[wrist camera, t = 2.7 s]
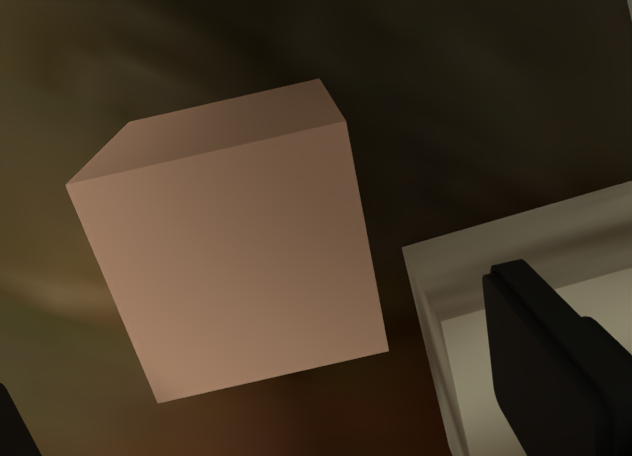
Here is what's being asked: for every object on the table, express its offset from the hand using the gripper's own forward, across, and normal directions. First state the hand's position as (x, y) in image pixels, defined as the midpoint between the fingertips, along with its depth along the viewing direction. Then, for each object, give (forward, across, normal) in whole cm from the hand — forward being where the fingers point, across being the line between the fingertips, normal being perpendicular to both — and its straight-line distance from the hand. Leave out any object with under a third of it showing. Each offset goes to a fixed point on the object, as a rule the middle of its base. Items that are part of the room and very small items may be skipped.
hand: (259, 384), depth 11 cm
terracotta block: (+9, 0, -1) cm, 9 cm away
